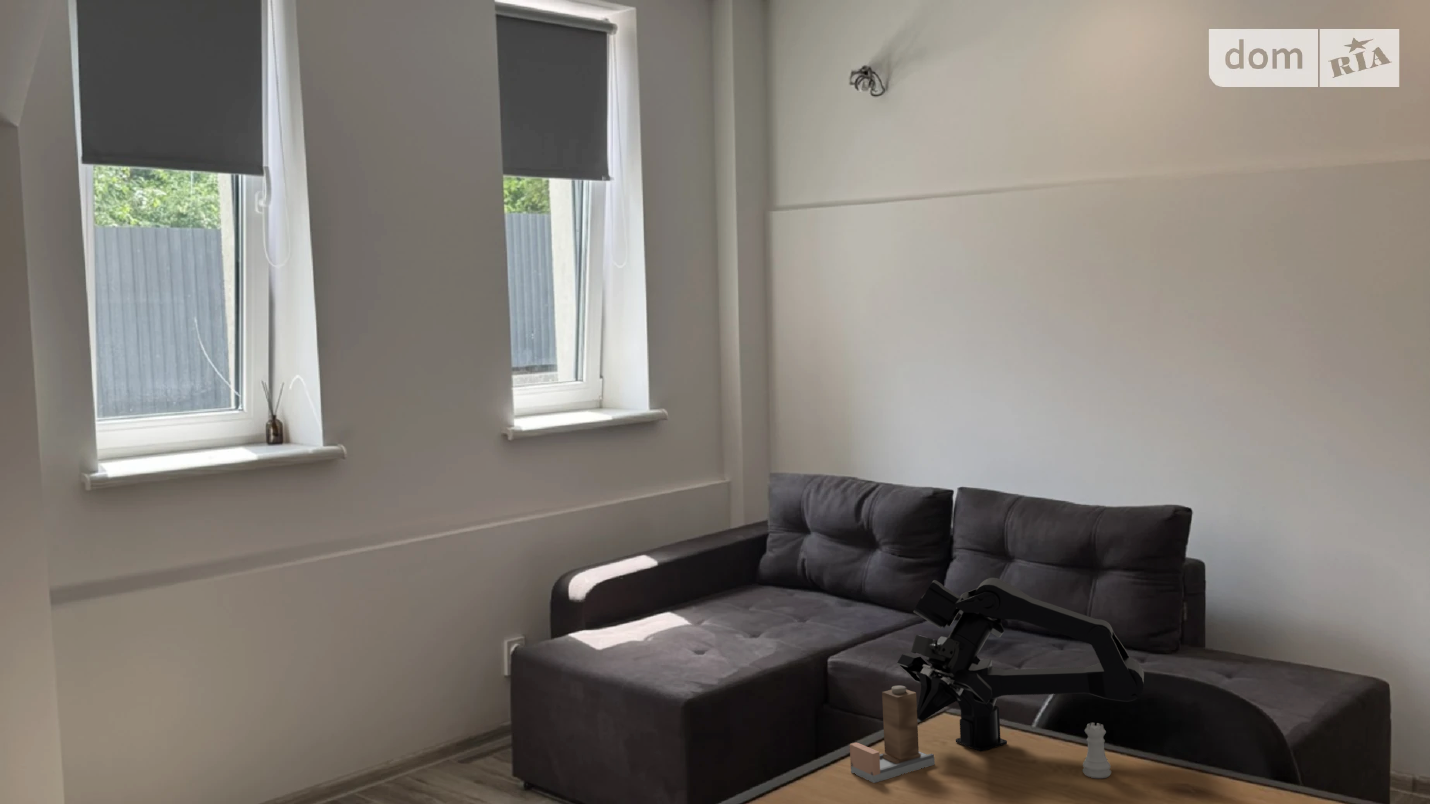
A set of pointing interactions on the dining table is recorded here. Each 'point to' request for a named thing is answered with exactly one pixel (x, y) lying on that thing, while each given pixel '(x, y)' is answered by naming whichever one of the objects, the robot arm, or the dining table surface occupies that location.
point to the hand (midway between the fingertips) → (918, 719)
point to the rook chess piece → (1096, 753)
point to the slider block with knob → (900, 725)
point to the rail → (882, 764)
